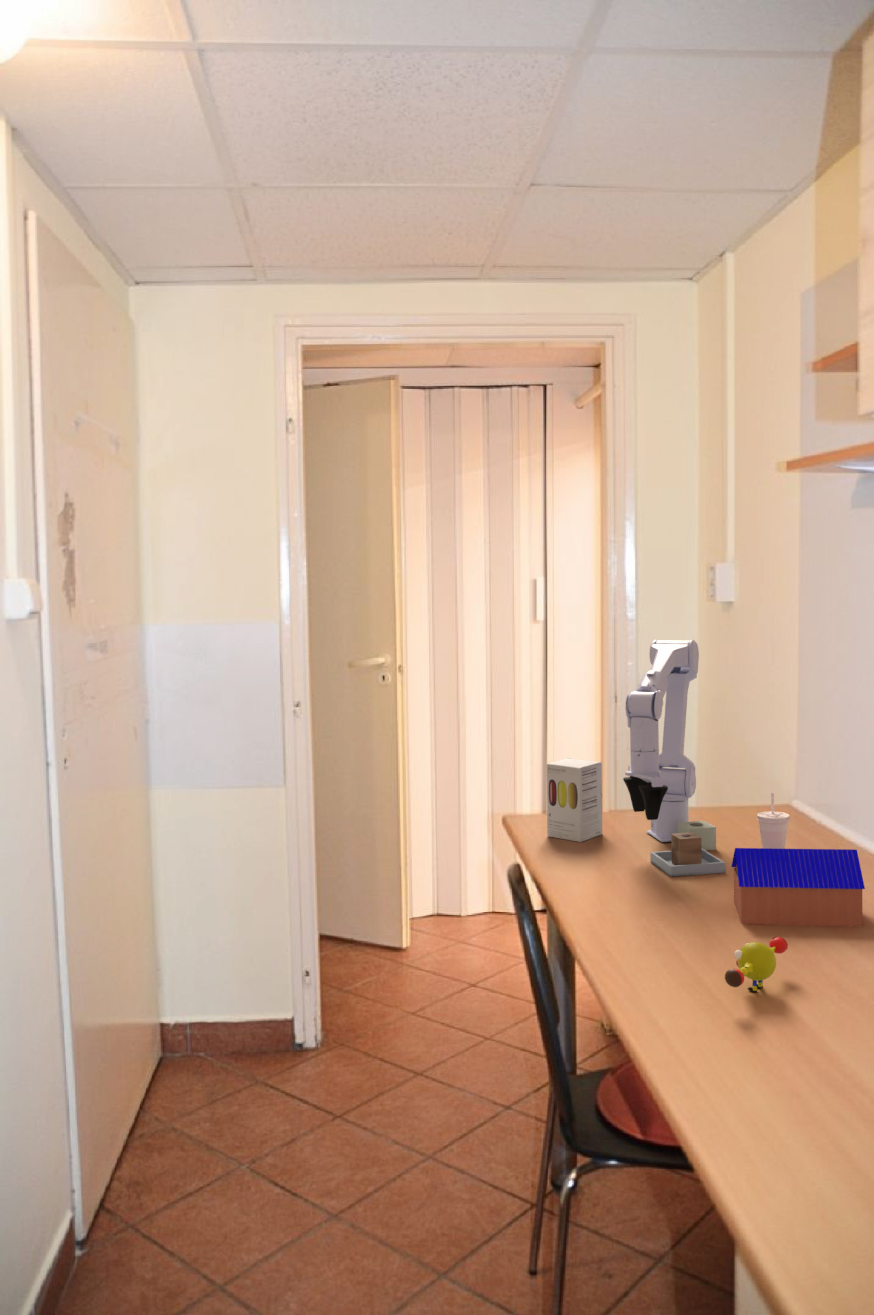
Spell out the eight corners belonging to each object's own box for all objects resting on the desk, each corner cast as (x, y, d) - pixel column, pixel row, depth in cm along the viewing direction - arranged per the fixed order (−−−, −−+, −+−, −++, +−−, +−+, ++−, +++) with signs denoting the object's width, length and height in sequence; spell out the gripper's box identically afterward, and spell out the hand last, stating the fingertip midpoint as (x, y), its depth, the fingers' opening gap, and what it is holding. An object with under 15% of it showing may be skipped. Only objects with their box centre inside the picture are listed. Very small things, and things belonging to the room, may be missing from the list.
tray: (650, 861, 218) (650, 852, 218) (702, 857, 220) (702, 848, 220) (671, 876, 207) (671, 866, 207) (725, 872, 209) (725, 862, 209)
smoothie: (786, 857, 218) (785, 790, 217) (793, 866, 212) (793, 796, 211) (754, 857, 219) (753, 790, 218) (760, 866, 212) (760, 797, 211)
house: (731, 903, 190) (731, 839, 190) (849, 905, 187) (849, 840, 186) (739, 925, 179) (739, 857, 178) (864, 928, 175) (865, 859, 174)
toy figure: (762, 966, 160) (762, 922, 159) (798, 974, 156) (798, 929, 156) (709, 1006, 146) (709, 957, 145) (748, 1015, 142) (748, 966, 142)
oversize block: (678, 845, 231) (677, 822, 230) (703, 843, 232) (703, 820, 232) (689, 852, 225) (689, 828, 225) (716, 850, 226) (715, 826, 226)
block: (671, 863, 215) (671, 833, 215) (692, 861, 216) (692, 832, 215) (680, 869, 211) (679, 838, 210) (701, 867, 212) (701, 837, 211)
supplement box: (546, 836, 241) (544, 763, 240) (568, 828, 248) (567, 757, 247) (581, 842, 235) (580, 767, 234) (604, 834, 242) (602, 761, 241)
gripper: (614, 745, 224) (615, 809, 225) (638, 756, 210) (639, 824, 211) (646, 743, 225) (647, 806, 226) (672, 754, 211) (673, 822, 212)
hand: (645, 815), depth 219 cm, fingers open, 7 cm apart
